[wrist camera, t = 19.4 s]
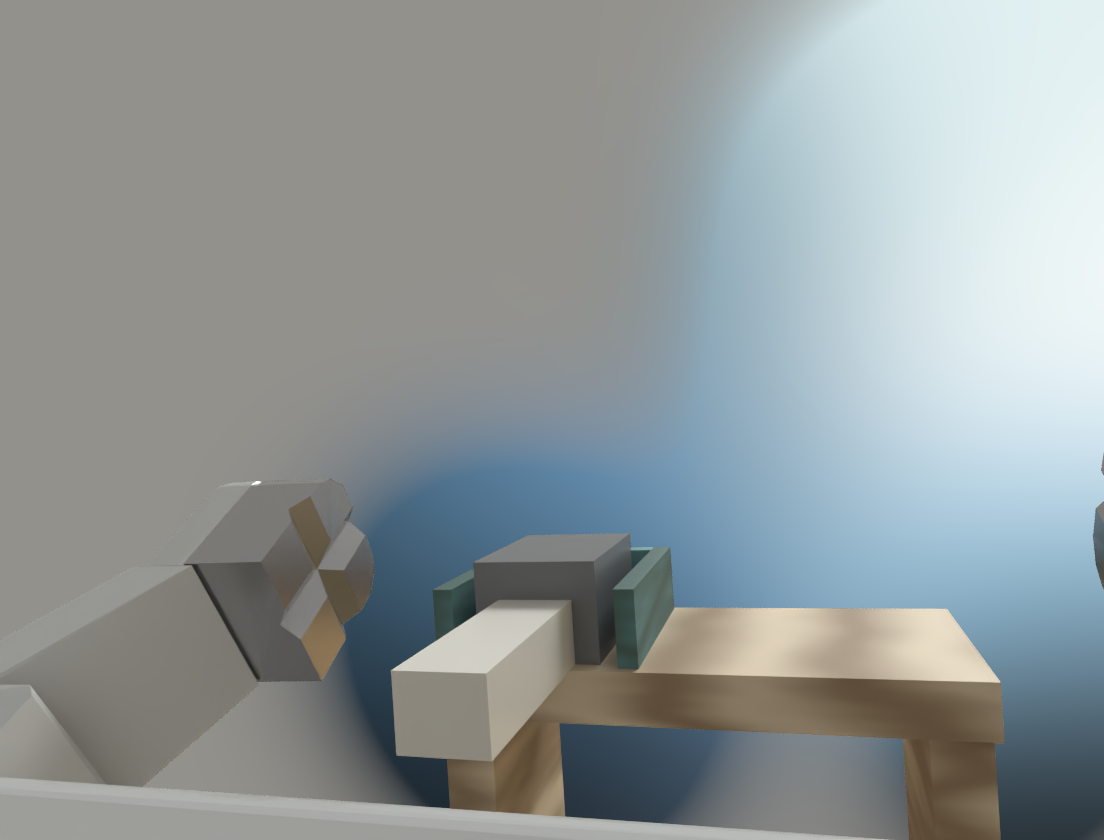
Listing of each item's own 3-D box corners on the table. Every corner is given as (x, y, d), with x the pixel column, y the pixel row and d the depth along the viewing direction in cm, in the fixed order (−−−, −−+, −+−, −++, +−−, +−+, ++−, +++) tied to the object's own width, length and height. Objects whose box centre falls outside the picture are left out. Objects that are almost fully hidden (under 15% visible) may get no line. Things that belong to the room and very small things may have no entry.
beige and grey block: (525, 763, 23) (516, 621, 23) (366, 753, 24) (357, 618, 24) (635, 618, 38) (629, 533, 38) (533, 617, 40) (528, 535, 40)
